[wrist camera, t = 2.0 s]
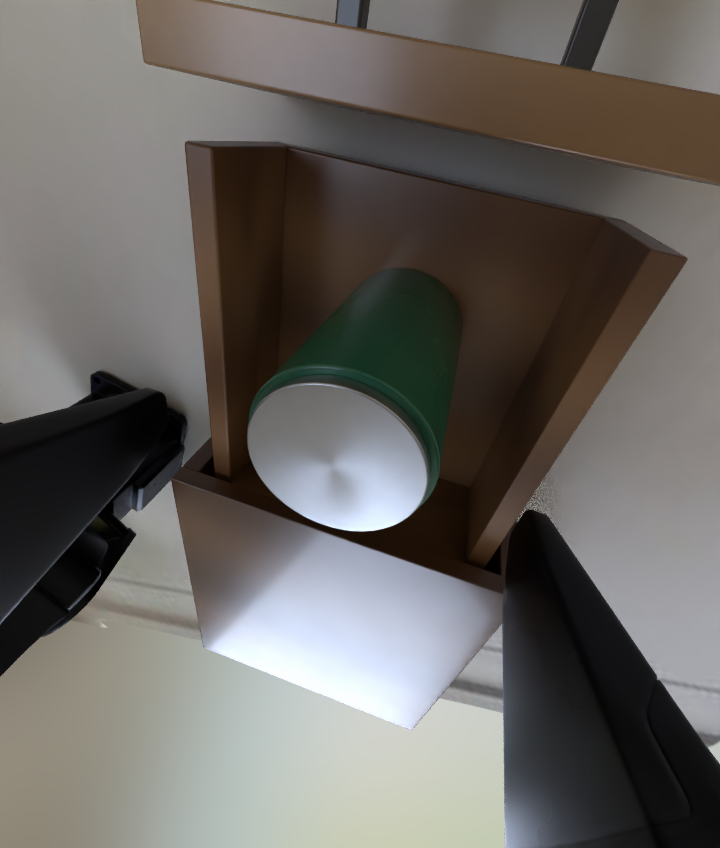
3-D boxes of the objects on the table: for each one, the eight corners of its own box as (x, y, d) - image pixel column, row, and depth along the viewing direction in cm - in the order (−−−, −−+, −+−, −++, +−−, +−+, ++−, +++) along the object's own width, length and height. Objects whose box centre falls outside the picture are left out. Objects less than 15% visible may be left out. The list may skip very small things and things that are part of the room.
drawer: (264, -163, 10) (81, -407, 6) (820, -91, 9) (1181, -348, 4) (259, 417, 22) (198, 488, 18) (493, 492, 21) (493, 590, 16)
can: (327, 347, 17) (221, 478, 10) (374, 242, 14) (267, 330, 7) (422, 401, 17) (378, 562, 11) (489, 308, 14) (484, 452, 8)
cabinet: (257, 388, 22) (170, 478, 16) (514, 467, 20) (522, 600, 14) (256, 554, 32) (203, 647, 26) (427, 616, 31) (411, 730, 25)
